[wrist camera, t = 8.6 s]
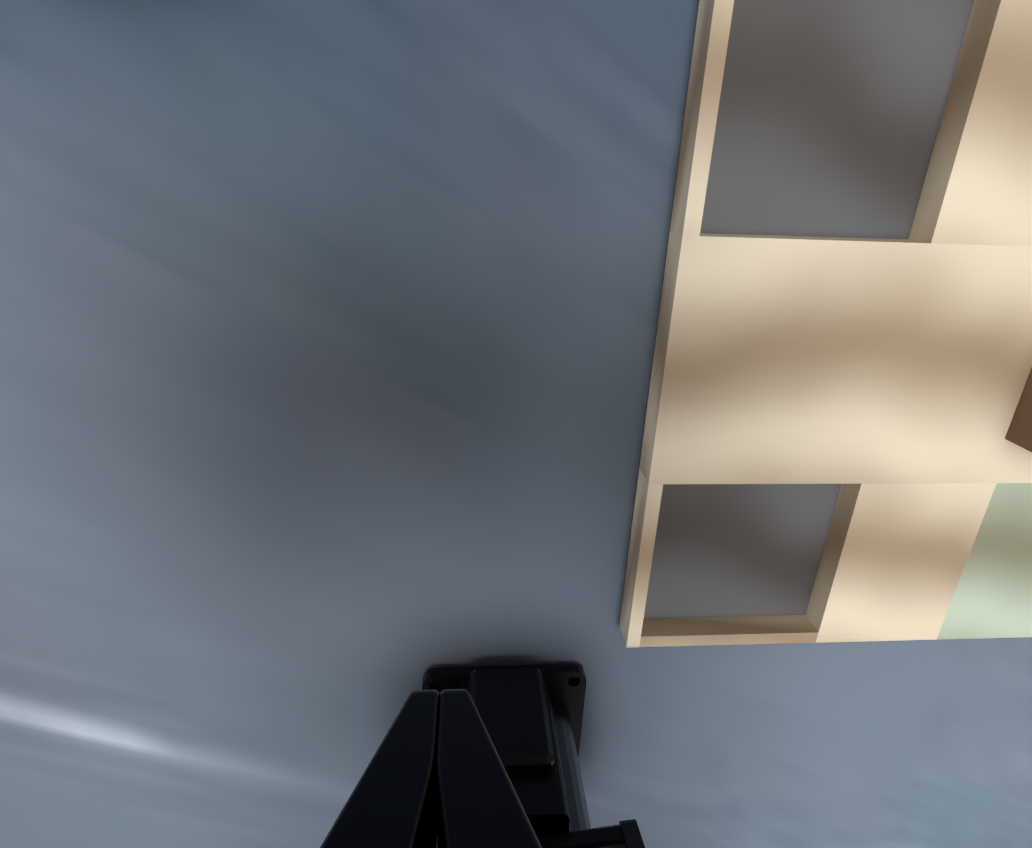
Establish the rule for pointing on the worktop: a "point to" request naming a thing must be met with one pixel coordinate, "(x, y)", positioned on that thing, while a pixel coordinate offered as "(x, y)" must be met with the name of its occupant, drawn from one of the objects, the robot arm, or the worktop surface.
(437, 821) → the robot arm
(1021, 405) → the walnut block
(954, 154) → the trap board
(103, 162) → the worktop surface
